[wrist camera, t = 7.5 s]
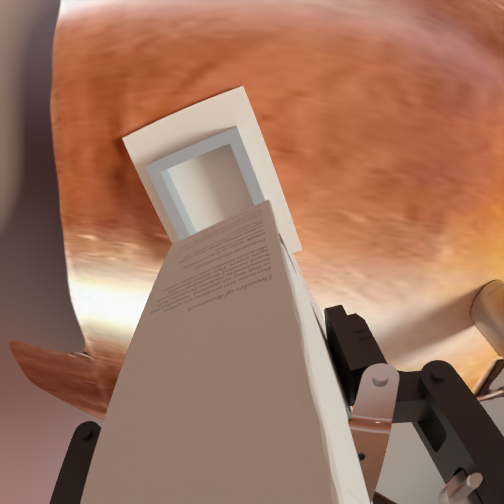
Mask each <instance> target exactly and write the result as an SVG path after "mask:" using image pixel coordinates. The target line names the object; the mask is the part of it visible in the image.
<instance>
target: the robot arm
mask: <svg viewBox="0 0 504 504" xmlns="http://www.w3.org/2000/svg"><path fill="white" fill-rule="evenodd" d="M324 313H325V325H326V336H327V341H328V344H329V347H330V350H331V353H332V356H333V359H334V362H335V364H336V367H337V370H338V373H339V376H340V379H341V382H342V385H343V388H344V391H345V394H346V397H347V400H348V403H349V406H353V405H354V408H353V411H352V415H351V418H350V420H348V424H349V428H350V431H351V435H352V438H353V442H354V445H355V449H356V452H357V455H358V456H359V458H360V460H361V461H359V463H360V467H361V470H362V474H363V478H364V482H365V485H366V489H367V493H368V497H369V501H370V504H371V502H372V501H373V504H397V503H395V502H393V501H391V500H389V499H388V498H386V497H385V496H383V495H381V494H380V493H378V492H376V491H375V489H376V486H377V482H378V479H379V476H380V472H381V468H382V464H383V461H384V456H385V453H386V448H387V444H388V440H389V435H390V430H391V423H403V422H412V424H413V426H414V427H415V429H416V431H417V433H418V434H419V436H420V438H421V440H422V442H423V443H424V445H425V447H426V449H427V450H428V452H429V454H430V456H431V457H432V460H433V462H434V463H435V465H436V467H437V469H438V471H439V472H440V474H441V476H442V478H443V480H444V482H445V484H446V485H445V487H444V488H443V489H442V490H441V492H440V494H439V497H438V504H504V437H503V435H502V434H501V432H500V431H499V429H498V428H497V426H496V425H495V424H494V422H493V421H492V419H491V418H490V416H489V415H488V414H487V412H486V411H485V409H484V408H483V407H482V405H481V404H480V402H479V401H478V400H477V398H476V397H475V396H474V394H473V393H472V392H471V390H470V389H469V388H468V386H467V385H466V384H465V382H464V381H463V380H462V378H461V377H460V376H459V374H458V373H457V372H456V371H455V369H454V368H453V367H452V366H451V365H450V364H449V363H447V362H445V361H441V360H435V361H431V362H429V363H427V364H426V365H425V366H424V367H423V368H422V370H421V371H412V372H403V371H398V370H396V369H395V368H394V367H393V366H391V365H389V364H388V363H387V362H386V360H385V358H384V356H383V354H382V352H381V350H380V348H379V346H378V344H377V342H376V341H375V339H374V337H373V335H372V333H371V331H370V330H369V327H368V325H367V323H366V322H365V320H364V319H363V318H362V317H360V316H359V315H357V314H356V313H355V314H351V315H347V314H346V312H345V310H344V308H343V306H342V305H338V306H334V307H329V308H325V309H324ZM471 318H472V320H473V321H474V322H475V326H476V327H477V329H478V330H479V331H480V332H481V334H482V335H483V336H484V337H485V338H486V340H487V341H488V342H489V343H490V345H491V346H492V347H493V349H494V350H495V351H496V352H497V354H498V355H499V356H502V357H503V358H504V282H502V281H501V280H495V281H492V282H490V283H489V284H487V285H486V286H485V287H484V288H483V289H482V290H481V291H480V292H479V294H478V295H477V297H476V298H475V300H474V302H473V305H472V308H471ZM101 428H102V427H100V426H99V425H98V424H97V423H95V422H92V421H87V422H84V423H82V424H80V425H79V426H78V427H77V428H76V430H75V432H74V434H73V437H72V439H71V442H70V445H69V448H68V450H67V453H66V456H65V459H64V462H63V464H62V467H61V470H60V473H59V476H58V479H57V482H56V485H55V488H54V491H53V494H52V497H51V501H50V504H80V502H81V498H82V494H83V490H84V486H85V483H86V479H87V475H88V472H89V468H90V464H91V461H92V457H93V454H94V451H95V447H96V444H97V441H98V437H99V434H100V431H101Z"/></svg>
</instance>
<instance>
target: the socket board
mask: <svg viewBox="0 0 504 504" xmlns="http://www.w3.org/2000/svg"><path fill="white" fill-rule="evenodd" d="M122 140H123V142H124V144H125V146H126V149H127V151H128V153H129V155H130V157H131V160H132V162H133V164H134V166H135V168H136V171H137V173H138V175H139V177H140V179H141V181H142V184H143V186H144V188H145V190H146V192H147V194H148V196H149V198H150V200H151V202H152V204H153V207H154V209H155V211H156V213H157V215H158V217H159V219H160V221H161V223H162V225H163V227H164V229H165V231H166V233H167V235H168V237H169V239H170V241H171V243H172V245H173V244H174V243H176V242H178V241H180V240H183V239H185V238H187V237H189V236H191V235H193V234H195V233H197V232H199V231H201V230H203V229H206V228H208V227H210V226H212V225H214V224H216V223H218V222H220V221H222V220H225V219H227V218H229V217H231V216H233V215H236V214H238V213H240V212H242V211H244V210H246V209H248V208H251V207H253V206H255V205H257V204H259V203H261V202H263V201H265V200H270V201H271V203H272V205H273V208H274V210H275V212H276V215H277V218H278V220H279V223H280V226H281V228H282V231H283V233H284V235H285V238H286V240H287V242H288V245H289V247H290V249H291V252H292V253H295V252H298V251H301V250H302V247H301V244H300V241H299V238H298V235H297V232H296V229H295V226H294V223H293V220H292V218H291V215H290V212H289V209H288V206H287V203H286V200H285V197H284V194H283V191H282V189H281V186H280V183H279V180H278V177H277V175H276V172H275V169H274V166H273V163H272V161H271V158H270V155H269V152H268V150H267V147H266V144H265V142H264V139H263V136H262V134H261V131H260V128H259V126H258V123H257V120H256V118H255V115H254V113H253V110H252V107H251V105H250V102H249V100H248V97H247V95H246V92H245V90H244V87H243V86H241V87H238V88H235V89H233V90H230V91H227V92H225V93H222V94H219V95H217V96H214V97H212V98H209V99H207V100H204V101H202V102H199V103H197V104H194V105H192V106H190V107H187V108H185V109H183V110H180V111H178V112H176V113H173V114H171V115H169V116H167V117H165V118H162V119H160V120H158V121H156V122H154V123H152V124H150V125H148V126H146V127H144V128H142V129H140V130H137V131H136V132H134V133H132V134H130V135H128V136H126V137H124V138H122Z"/></svg>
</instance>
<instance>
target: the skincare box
mask: <svg viewBox="0 0 504 504" xmlns="http://www.w3.org/2000/svg"><path fill="white" fill-rule="evenodd" d="M352 411H353V410H352V406H349V403H348V400H347V397H346V394H345V391H344V388H343V385H342V382H341V379H340V376H339V373H338V370H337V367H336V364H335V362H334V359H333V356H332V353H331V350H330V347H329V344H328V341H327V336H326V325H325V322H324V319H323V316H322V313H321V310H320V308H319V306H318V304H317V303H316V301H315V300H314V298H313V296H312V294H311V292H310V290H309V288H308V286H307V284H306V282H305V280H304V278H303V276H302V274H301V271H300V269H299V267H298V265H297V263H296V260H295V258H294V256H293V254H292V252H291V249H290V247H289V245H288V242H287V240H286V238H285V235H284V233H283V231H282V228H281V226H280V223H279V220H278V218H277V215H276V212H275V210H274V208H273V205H272V203H271V201H270V200H265V201H263V202H261V203H259V204H257V205H255V206H253V207H251V208H248V209H246V210H244V211H242V212H240V213H238V214H236V215H233V216H231V217H229V218H227V219H225V220H222V221H220V222H218V223H216V224H214V225H212V226H210V227H208V228H206V229H203V230H201V231H199V232H197V233H195V234H193V235H191V236H189V237H187V238H185V239H183V240H180V241H178V242H176V243H174V244H173V245H171V246H170V248H169V251H168V253H167V255H166V258H165V260H164V262H163V265H162V267H161V269H160V271H159V274H158V276H157V279H156V281H155V283H154V285H153V288H152V291H151V293H150V295H149V298H148V300H147V303H146V305H145V308H144V310H143V313H142V315H141V318H140V320H139V323H138V325H137V328H136V330H135V333H134V335H133V338H132V341H131V343H130V346H129V348H128V351H127V354H126V356H125V359H124V362H123V365H122V368H121V370H120V373H119V376H118V379H117V382H116V385H115V388H114V391H113V394H112V397H111V400H110V403H109V406H108V409H107V412H106V415H105V418H104V421H103V425H102V428H101V431H100V434H99V437H98V441H97V444H96V447H95V451H94V454H93V457H92V461H91V464H90V468H89V472H88V475H87V479H86V483H85V486H84V490H83V494H82V498H81V502H80V504H370V501H369V497H368V493H367V489H366V485H365V482H364V478H363V474H362V470H361V467H360V463H359V461H361V460H360V458H359V456H358V455H357V452H356V449H355V445H354V442H353V438H352V435H351V431H350V428H349V424H348V420H350V418H351V415H352ZM371 504H373V501H372V502H371Z"/></svg>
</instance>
